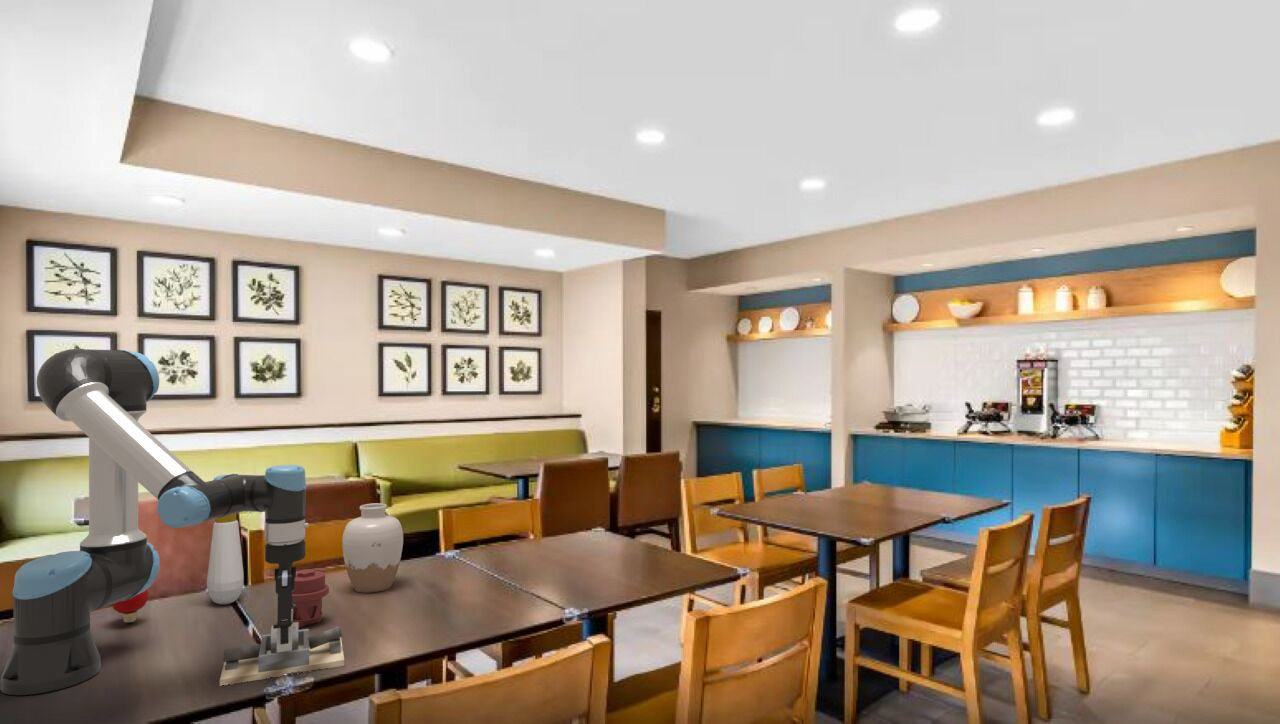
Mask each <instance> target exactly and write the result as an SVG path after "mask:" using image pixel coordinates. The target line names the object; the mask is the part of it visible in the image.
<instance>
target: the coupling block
mask: <svg viewBox="0 0 1280 724" xmlns="http://www.w3.org/2000/svg"><path fill="white" fill-rule="evenodd" d="M273 625H274V624H273ZM273 625H271V629H270V630H271V631H270V634H271V654H272V653H277V628H276V629H273ZM298 630H299V628H298V622H295V621H293V623H292V650H298Z"/></svg>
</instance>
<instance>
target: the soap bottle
mask: <svg viewBox="0 0 1280 724" xmlns="http://www.w3.org/2000/svg"><path fill="white" fill-rule="evenodd" d="M214 520H215V522H213V525H212V526H213V527H212V535H211V544H210V553H209V561H208V569H207V579H206V585H207V586H206V588H207V592H208V594H209V595H208V596H209V597H210V599H211V600H212V601H213V602H214V603H215V604H217V605H223V606H224V605H229V604H230V605H231V604H233V603H234V602H236V601H237V600H238V599H239V597H240V596H241V594H242V591H243V586H244V578H245V577H244V575H245V574H244V567H243V556H242V546H241V538H240V529H239V521H238V519H237V513H235V514H231V515H228V516H224V517H220V518H216V519H214Z"/></svg>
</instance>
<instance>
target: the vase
mask: <svg viewBox="0 0 1280 724" xmlns="http://www.w3.org/2000/svg"><path fill="white" fill-rule="evenodd" d="M387 507H388V505H387V504H386V503H381V502H380V503H375V502H374V503H373V502H372V503H366V504H361V505H360V506H359V511H360V514H361V515H360V516H359V517H356V518H354V519H352V520H350V521H348V522H347V524H346V525H345V528H344V530H343V533H342V542H341V543H342V554H343V560H344V565H345V570H346V572H347V575H348V578H349V581H350V584H351V586H352V587H353V588H352V589H353V590H354V591H355V592H357V593H360V594H361V593H362V594H370V593H371V594H372V593H379V592H384V591H386V590H388V589H390V588H391V587H392V586H393V583H394V581H395V578H396V575H397V573H398V570H399V566H400V564H401V558H402V552H403V545H404V531H403V528H402V524H401V522H400V520H399V519H398V518H397V517H394V516H392V515H387V514H386V508H387Z"/></svg>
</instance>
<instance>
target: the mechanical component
mask: <svg viewBox="0 0 1280 724" xmlns="http://www.w3.org/2000/svg"><path fill="white" fill-rule="evenodd" d="M329 592H330V586H329V585H328V584H326V573H325V572H323V571H319V570H315V569H314V568H313V569H312V568H308V569H307V568H306V569H301V570H298V571H297V572H296V578H295V583H294V591H293V592H292V599H293V601H292V603H296V608H291V609H293V622H298V629H300V628H302V627H305V626H308V625H312V624H317V623H321V621H322V615H323V612H322V610H323V609H322V607H323V598H324V597H326V596H327V595H328V594H329Z"/></svg>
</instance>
